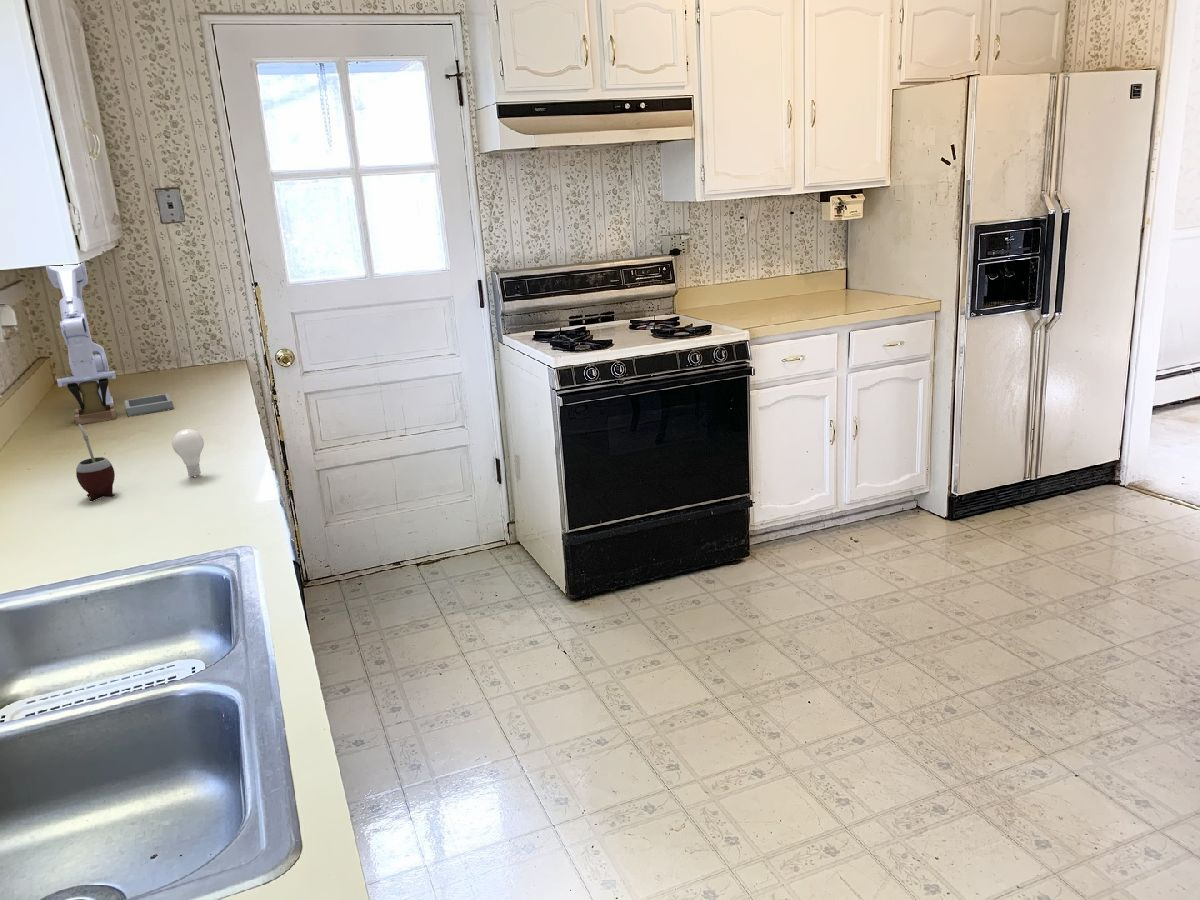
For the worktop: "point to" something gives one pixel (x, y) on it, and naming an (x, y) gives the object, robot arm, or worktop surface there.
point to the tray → (148, 404)
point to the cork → (91, 397)
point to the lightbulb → (189, 449)
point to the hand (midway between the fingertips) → (93, 406)
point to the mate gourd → (95, 474)
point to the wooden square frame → (95, 415)
